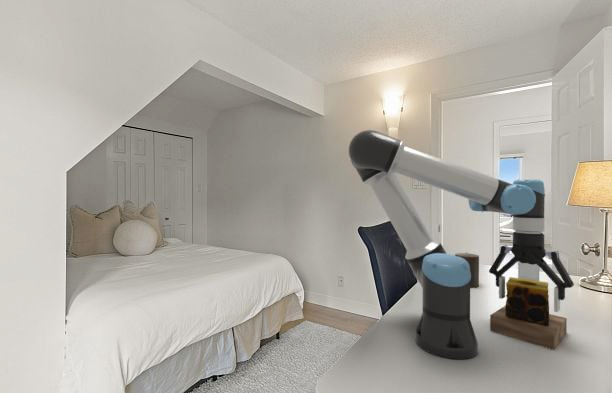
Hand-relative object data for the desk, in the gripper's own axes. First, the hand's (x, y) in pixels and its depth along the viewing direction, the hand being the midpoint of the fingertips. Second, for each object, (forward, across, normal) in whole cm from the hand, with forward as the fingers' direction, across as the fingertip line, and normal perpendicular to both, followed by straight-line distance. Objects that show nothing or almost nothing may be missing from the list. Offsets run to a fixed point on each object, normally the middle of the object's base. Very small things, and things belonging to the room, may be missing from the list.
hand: (527, 303), depth 90 cm
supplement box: (+8, +15, -54) cm, 57 cm away
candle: (+4, 0, 0) cm, 4 cm away
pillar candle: (+8, +33, -35) cm, 49 cm away
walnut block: (+9, 0, 0) cm, 9 cm away
